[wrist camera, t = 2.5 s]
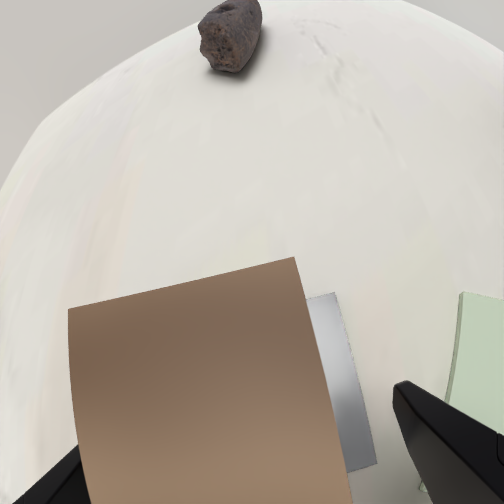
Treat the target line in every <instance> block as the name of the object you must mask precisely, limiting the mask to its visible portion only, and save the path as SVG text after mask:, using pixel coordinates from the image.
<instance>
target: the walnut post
mask: <svg viewBox="0 0 504 504" xmlns="http://www.w3.org/2000/svg"><path fill="white" fill-rule="evenodd" d="M68 345H69V367H70V381H71V392H72V402H73V411H74V418H75V426H76V432H77V439H78V445H79V450H80V456H81V461H82V466H83V471H84V475H85V480H86V484H87V488H88V492H89V496H90V500H91V504H353V503H352V497H351V492H350V487H349V482H348V477H347V472H346V467H345V462H344V458H343V453H342V448H341V443H340V439H339V434H338V430H337V425H336V421H335V416H334V412H333V407H332V403H331V399H330V395H329V390H328V386H327V382H326V378H325V373H324V369H323V365H322V361H321V357H320V353H319V349H318V345H317V341H316V337H315V333H314V329H313V325H312V321H311V318H310V314H309V310H308V306H307V302H306V299H305V295H304V291H303V287H302V284H301V280H300V276H299V273H298V269H297V265H296V262H295V258H294V257H290V258H286V259H282V260H278V261H274V262H270V263H266V264H262V265H257V266H253V267H249V268H245V269H241V270H237V271H232V272H228V273H224V274H220V275H216V276H211V277H207V278H203V279H199V280H194V281H190V282H186V283H181V284H177V285H173V286H168V287H164V288H160V289H155V290H151V291H147V292H142V293H138V294H133V295H129V296H125V297H120V298H116V299H111V300H107V301H102V302H98V303H93V304H89V305H84V306H80V307H75V308H70V309H68Z"/></svg>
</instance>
